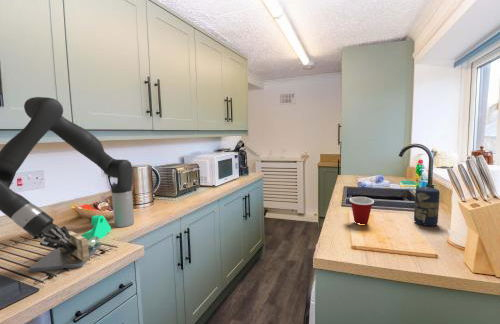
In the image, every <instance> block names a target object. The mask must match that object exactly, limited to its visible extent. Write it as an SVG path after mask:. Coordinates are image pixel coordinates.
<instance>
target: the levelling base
mask: <svg viewBox="0 0 500 324" xmlns="http://www.w3.org/2000/svg"><path fill="white" fill-rule="evenodd" d="M99 241H100V240H99V238H98V237H97V236H93V237H92V238H90V239H89V240H88V250H89V259H90V258H91V257H92V256H93V255H94V254H95V253H96V252H97V251H98V250H99V249H100V248H101V246H102V245H101V244H102V243H101V242H99ZM97 249H98V250H97ZM96 250H97V251H96ZM88 261H89V260H87V261H82V260H80V259H79V258H77V257H76V256H74V255H73V254H70V253H69V252H68V251H65V252H61V251H60V248H58V249H54V248H52V250H50V251H49V252H48V253H47V254H45V255H44V256H43V257H41V258H40V259H39V260H38V261H37V262H36V263H34V264H33V265H31V266H30V267H29V268H28V271H29V273H38V272H49V271H58V270H57V269H61V270H64V269H63V268H69V269H70V270H71V269H79V268H82V267H83V266H84V265H85V264H86V263H87V262H88ZM69 269H68V270H69Z"/></svg>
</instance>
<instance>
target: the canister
mask: <svg viewBox="0 0 500 324" xmlns="http://www.w3.org/2000/svg"><path fill="white" fill-rule="evenodd" d="M414 195H415V196H414V206H413V207H414V208H413V209H414V211H413V212H414V213H413V221H414V222H415V223H417V224H419V225H423V226H429V227H432V226H436V225H438V223H439V213H440V212H439V211H440V210H439V206H440V196H441V194H440V190H439V189H438V188H434V187H430V186H427V187H426V186H425V187H424V186H422V187H421V186H420V187H417V188H416V189H415V194H414Z"/></svg>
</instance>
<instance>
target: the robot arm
mask: <svg viewBox="0 0 500 324" xmlns="http://www.w3.org/2000/svg"><path fill="white" fill-rule="evenodd" d="M23 108H24V111H25V114H26V115H27V116H28V117H29V118H30V120H29V121H28V123H27V124H26V125H25V127H24V128H22V129H21V131H20V132H18V133H17V134H16V135H15V136H13V137H12V138H11V139H9V140H8V141H7V142H6V144H4V145H3V146H2V148H0V149H1V150H0V212H1V213H3V214H4V215H5V216H7V217H8V218H9V219H10V220H11V221H13V222H14V223H15V224H16V225H17V226H18V227H20V228H21V229H22V230H24V231H26V232H27V233H28V234H29V235H31V237H39V239H41V242H39V246H42V247H47V248H50V249H58V248H64V249H65V250H66V251H68V252H69V253H70V254H72V253H73V252H74V251H75V250H76V249H77V247H76V246H75V245H73V244H72V243H71V242H70V240H69V239H70V238H71V237H70V235H69V232H68V231H69V230H68V228H67V226H65V225H63V226H62V227H59V226H58V225H57V224H56V223H54V218H53V217H52V216H50V215H49V214H48V213H46V212H45V211H43V209H41V208H40V207H39V206H37V205H35V204H33V203H32V202H31V201H29V200H28V198H26V197H24V196H23V195H21V194H19V193H17V192H15V191H14V190H13V189H11V188H10V187H11V185H12V183H13V181H14V179H15V176H16V174H17V172H18V170H19V169H20V167H21V166H22V165H23V163H24V162H25V160H26V159H27V157H28V156H29V155H30V154H31V152H32V151H33V149H34V147H35V146H36V145H37V144H38V142H40V141H41V139H43V138H44V136H45V135H46V134H47V133H48V132H49V131H51V132H52V133H54V134H55V135H56V136H58V137H59V138H60V139H61V140H63V142H65V143H67V144H68V145H69V146H70V147H72V148H73V149H74V150H76V151H77V152H78V153H80V154H81V155H83V156H84V157H85V158H87V159H88V160H90V161H91V162H93V163H94V164H95V165H96V166H97V167H98V168H100V170H102V171H103V172H104V174H106V175H108V176H109V177H111V178H114V179H117V182H116V184H114V185H112V186H111V189H110V191H111V192H110V193H111V201H112V213H113V225H114V227H116V228H125V227H130V226H132V225H134V223H135V215H134V212H135V211H134V201H133V189H132V188H133V183H134V179H133V178H134V175H133V171H134V170H133V165H132V163H131V162H130V161H129V159H116V158H113V157H112V156H111V155H109V154H108V153H107V152H106V151H105V149H104V146H103V144H102V142H101V141H100V140H99V139H98V138H97V136H95V135H94V134H92V133H91V132H90V131H88V130H87V129H85V128H84V127H82V126H79V125H77V124H76V123H74V122H73V121H70V120H69V119H67V118H66V117H64V108H63V105H62V104H61V102H60V101H58V100H57V99H55V98H52V97H45V96H43V97H42V96H34V97H30V98H28V99H27V100H26V101H25V102H24V104H23Z"/></svg>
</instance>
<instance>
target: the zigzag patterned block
mask: <svg viewBox="0 0 500 324" xmlns="http://www.w3.org/2000/svg"><path fill="white" fill-rule="evenodd" d="M68 232H69V235H70V237H71V238H70V239H69V240H70V242H71V243H72V244H73V245H75V246H76V247H77V249H76V250H75V251H74V252H73V253H72V254H73V255H74V256H76V257H77V258H79V259H80V260H82V261H87V260H88V261H90V258H89V250H88V240H87V239H86V238H84V237H82V236H80V235H81V234H78V233H76V232H74V231H72V230H68ZM60 251H61V252H65V251H66V250H65V249H64V248H60ZM88 261H87V262H88Z"/></svg>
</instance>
